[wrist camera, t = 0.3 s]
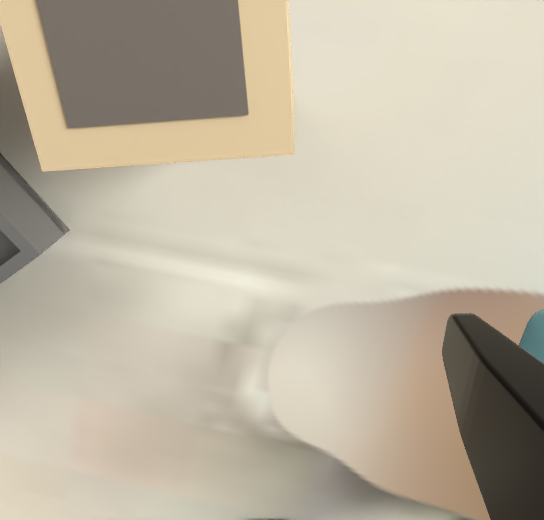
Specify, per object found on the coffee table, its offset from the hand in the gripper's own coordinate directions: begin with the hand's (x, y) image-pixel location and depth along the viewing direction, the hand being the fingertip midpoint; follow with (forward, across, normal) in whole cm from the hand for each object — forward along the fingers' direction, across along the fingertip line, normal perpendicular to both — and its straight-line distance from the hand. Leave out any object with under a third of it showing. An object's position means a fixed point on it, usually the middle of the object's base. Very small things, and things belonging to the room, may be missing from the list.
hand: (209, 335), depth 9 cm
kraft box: (+15, +1, -4) cm, 15 cm away
